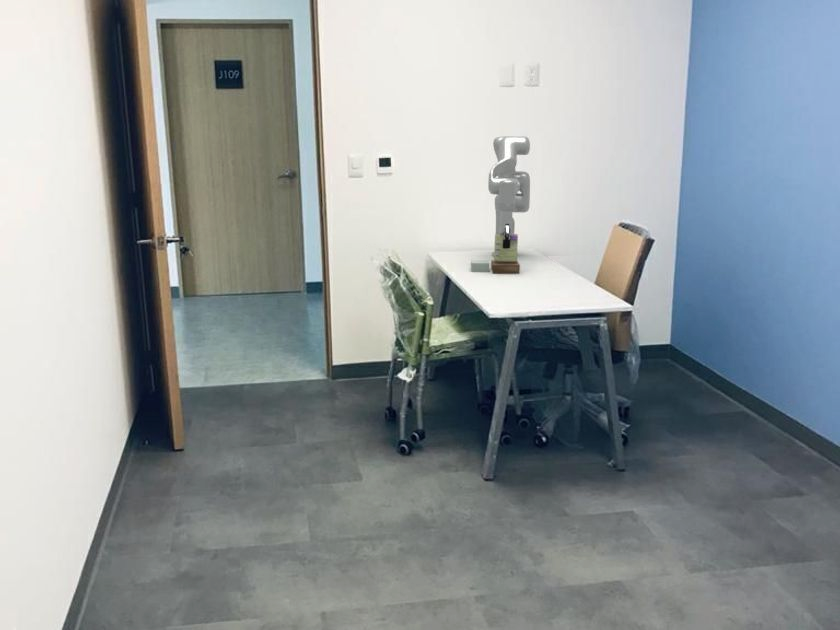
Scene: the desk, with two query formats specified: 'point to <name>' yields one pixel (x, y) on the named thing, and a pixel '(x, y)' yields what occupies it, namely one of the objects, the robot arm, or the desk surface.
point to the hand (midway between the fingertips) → (505, 246)
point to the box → (505, 253)
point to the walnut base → (505, 267)
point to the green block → (479, 266)
